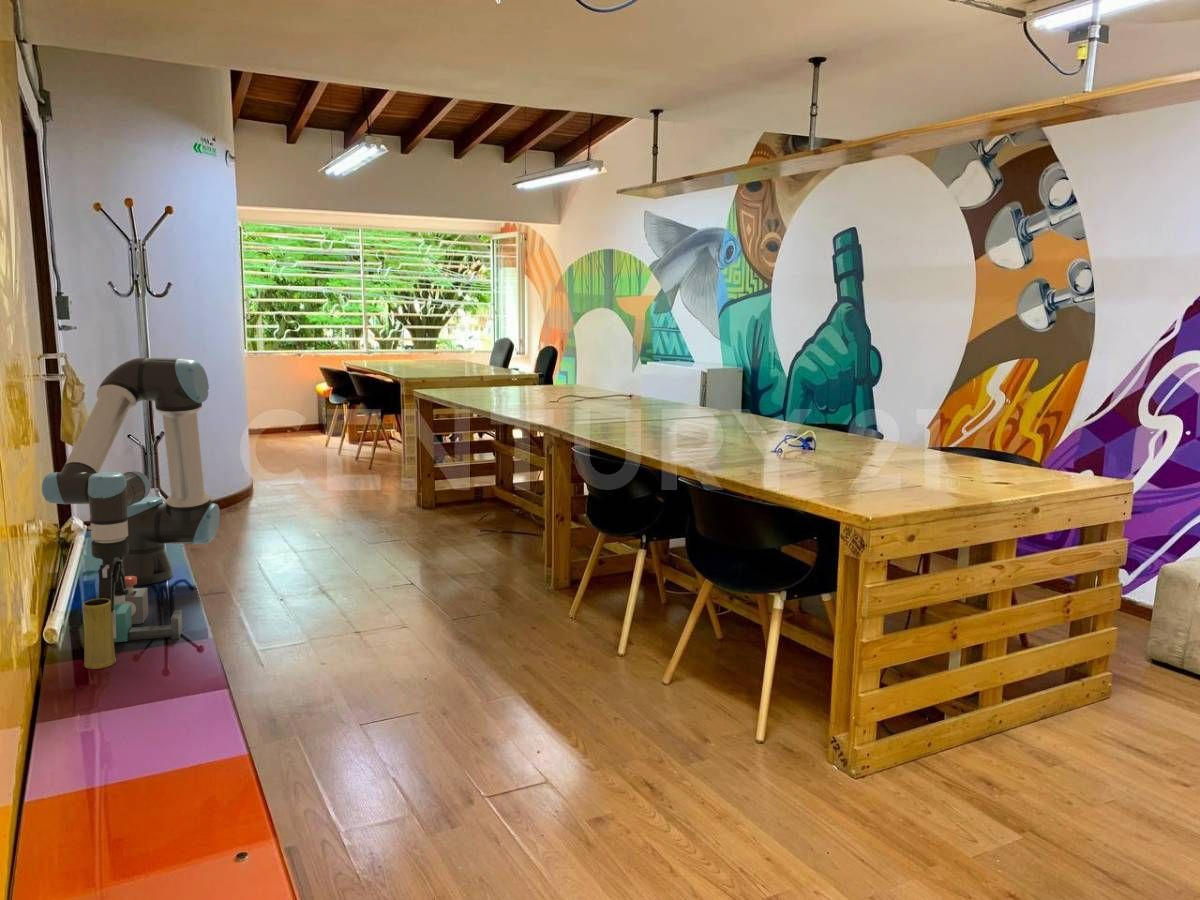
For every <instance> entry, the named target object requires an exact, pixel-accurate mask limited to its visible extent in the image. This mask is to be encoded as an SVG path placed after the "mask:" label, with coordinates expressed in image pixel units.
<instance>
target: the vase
mask: <svg viewBox="0 0 1200 900" xmlns="http://www.w3.org/2000/svg"><path fill="white" fill-rule="evenodd" d="M82 613H83V628H84V630H83V631H84V633H83V634H84V646H83V647H84V648H83V649H84V653H83V655H84V663H83V667H84V668H86V669H88V670H89V669H90V670H100V669H104V668H109V667H111V666H113V665H115V664H116V662H117V659H116V650H115V642H114V638H113V627H112V617H111V601H110V599H107V598H99V597H98V598H92V599H88V600H86V601H84V602H83V603H82Z"/></svg>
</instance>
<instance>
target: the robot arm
mask: <svg viewBox="0 0 1200 900" xmlns="http://www.w3.org/2000/svg"><path fill="white" fill-rule="evenodd" d="M207 375H208V374H207V373H206V369H205V368H204V366H203V365H202V364H201V363H200V362H198V361H196V360H193V359H186V358H165V357H164V358H161V357H160V358H157V357H156V358H153V357H151V358H150V357H137V358H132V359H130V360H128V361H125V362H124V363H122V364H120V365H118V366H117V367H115V368H114V369H113V370H112V371H110V373H109V374H108V375H107V376H106V377H105V378H104V379H103V381H101V383H100V385H99V387H98V389H97V390H96V397H97V400H96V402H95V404H94V406H93V409H92V411H91V413H90V414H89V417H88V418H87V420H86V422H85V424H84V426H83V429H82V430H81V432H80V434H79V436H78V438H77V440H76V442H75V444H74V445H73V448H72V450H71V452H70V453H69V455H68V458H67V459H66V462H65V464H64V465H63V467H62V468H61V471H55V472H49V473H48V474H47V475H45V476H44V478H43V480H42V484H41V493H42V496H43V497H44V500H45V501H47V502H48V503H50V504H59V505H88V506H89V517H90V518H89V519H90V520H89V522H90V525H88V526H87V530H89V531H90V539H91V540H92V541H91V556H92V557H93V558H95V559H100V560H102V564H100V565H99V568H98V571H97V573H98V598H107V599H110V601H111V617H112V627H113V638H116V619H115V610H114V605H119V604H125V595H123V594H128V590H125V589H126V581H125V577H126V576H136V577H137V584H136V585H135V586H144V585H151V584H152V585H153V584H156V583H161V582H164V581H166V580H169V579H171V578H172V576H173V566H172V564H171V561H170V559H169V556H168V554H167V552H166V548H165V546H166V545H165V544H172V545H174V544H178V545H194V546H195V545H198V544H199V545H202V544H205V545H206V544H208V543H209V544H210V542H212V541H213V539H214V538H215V536H216V534H217V531H218V528H219V524H220V518H221V511H220V510H221V509H220V507H219V505H218V504H217V503H213V502H212V500H211V499H212V498H211V495H210V494H208V493H207V492H206V491H205V487H204V486H205V485H204V476H203V475H204V474H203V465H202V456H201V455H202V454H201V442H200V433H199V423H198V412H199V411H200V409H202V407H203V403H204V402H205V401H206V400H207V399H208V397H209V390H210V389H209V388H210V387H209V386H210V385H209V380H208V379H209V378H208V376H207ZM141 401H147V402H148V401H149V402H154V406H155V410H156V411H158V412H159V413H160V414H161V415H162V421H163V422H162V423H163V431H164V441H165V450H166V460H167V468H168V469H167V470H168V477H169V479H168V480H169V487H170V488H169V489H170V495H169V496H168V497H167V498H166V500H165V501H164V499H163V497H161V496H148V495H149V494H150V492H151V488H152V487H151V486H152V484H151V481H150V479H149V478H148V476H146V474H144V473H143V472H141V471H135V470H133V471H127V472H124V473H122V472H120V471H119V472H118V471H102V472H101V469H102V467H103V465H104V463H105V461H106V458H107V457H108V455H109V452H110V450H111V449H112V446H113V444H114V442H115V440H116V438H117V435H118V433H119V432H120V429H121V427H122V425H123V423H124V421H125V419H126V416H127V414H128V413H129V412H130V411H132V410H133V409H135V407H136V406H137V404H138V402H141Z"/></svg>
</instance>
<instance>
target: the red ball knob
mask: <svg viewBox="0 0 1200 900" xmlns="http://www.w3.org/2000/svg"><path fill="white" fill-rule="evenodd" d="M125 581H126V589H125V590H128V594H125V595H133V589H134V586H137V585H136V584H137V577H136V576H126V577H125Z"/></svg>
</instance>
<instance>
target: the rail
mask: <svg viewBox="0 0 1200 900" xmlns="http://www.w3.org/2000/svg"><path fill="white" fill-rule="evenodd" d="M182 611H183V610H182V609H179V610H174V611H173V613H172V615H171V618H170V624H163V625H161V624H160V625H149V626H148V625H147V626H136V627H133V626H132V628H129V630H128V640H127V641H135V640H137V641H138V640H148V639H161V638H171V640H178V639H180V637H181V634H182V632H183V613H182Z"/></svg>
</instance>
